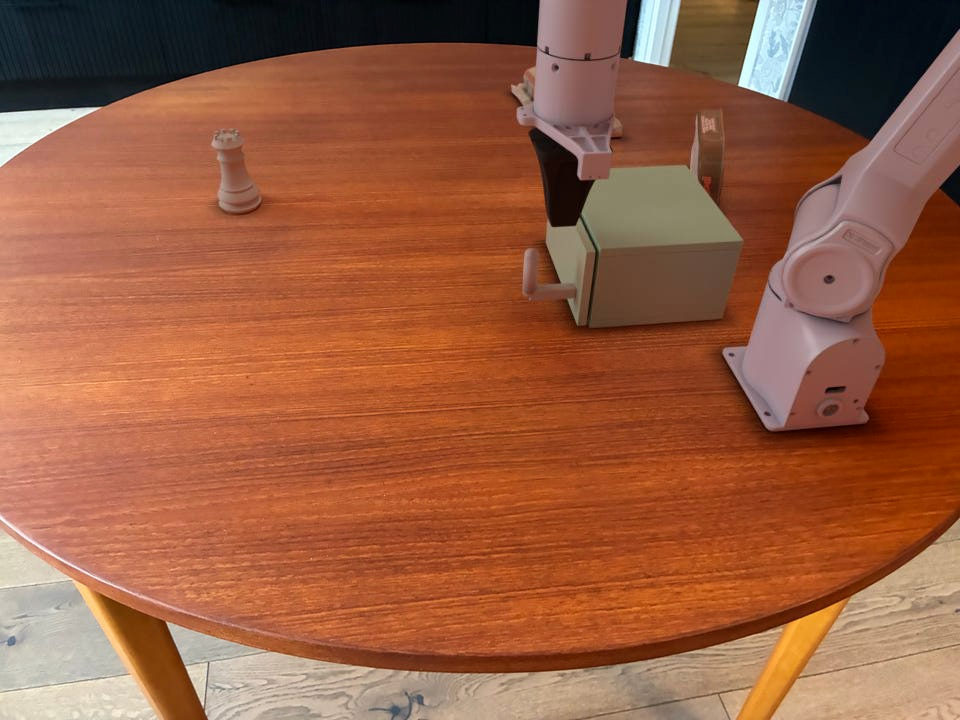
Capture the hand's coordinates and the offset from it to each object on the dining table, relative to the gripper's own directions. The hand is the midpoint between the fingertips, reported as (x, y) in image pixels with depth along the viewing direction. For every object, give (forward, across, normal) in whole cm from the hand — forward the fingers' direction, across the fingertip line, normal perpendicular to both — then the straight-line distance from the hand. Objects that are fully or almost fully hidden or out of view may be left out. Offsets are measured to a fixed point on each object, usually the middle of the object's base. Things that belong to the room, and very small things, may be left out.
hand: (562, 222), depth 61 cm
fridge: (+9, -5, +9) cm, 14 cm away
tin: (+10, -20, +21) cm, 31 cm away
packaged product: (+10, -44, +11) cm, 47 cm away
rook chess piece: (+10, -24, -29) cm, 39 cm away
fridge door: (+9, -5, 0) cm, 10 cm away
